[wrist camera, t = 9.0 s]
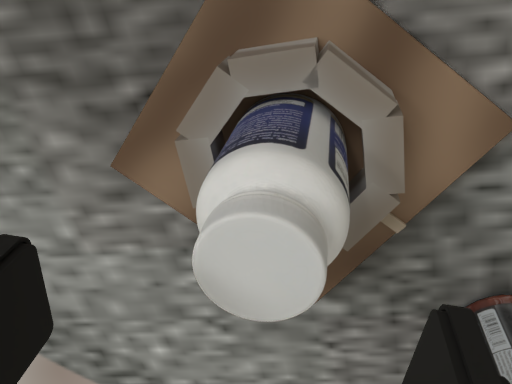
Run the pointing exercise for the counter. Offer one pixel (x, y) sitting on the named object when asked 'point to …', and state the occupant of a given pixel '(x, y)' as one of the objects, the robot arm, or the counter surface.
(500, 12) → the counter surface
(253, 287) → the pill bottle
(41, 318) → the robot arm
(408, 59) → the hub board
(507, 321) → the supplement bottle
